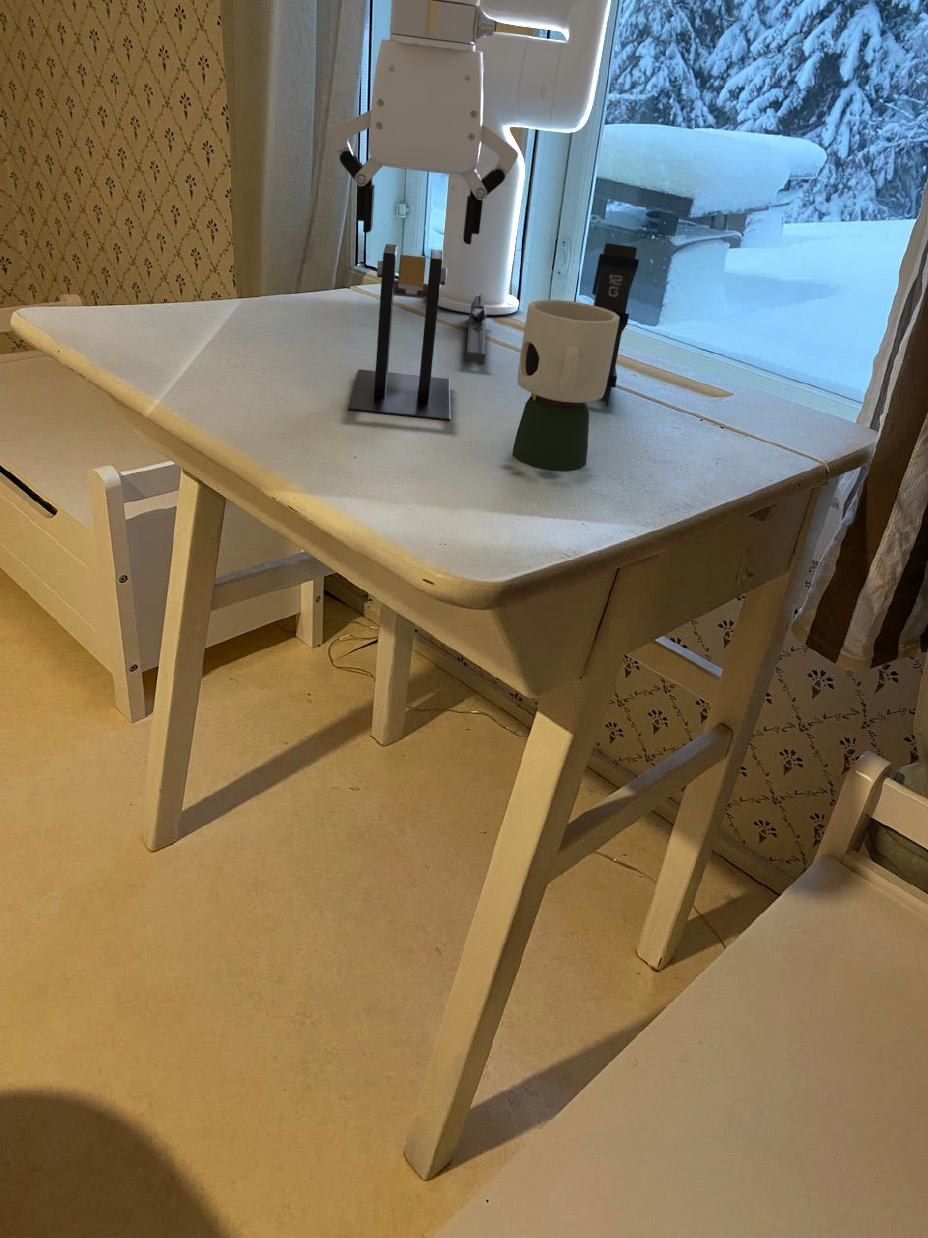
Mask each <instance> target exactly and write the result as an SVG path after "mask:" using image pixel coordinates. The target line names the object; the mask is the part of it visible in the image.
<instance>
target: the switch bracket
mask: <svg viewBox="0 0 928 1238" xmlns="http://www.w3.org/2000/svg"><path fill="white" fill-rule="evenodd" d="M442 250H443V249H441V250H440V249H433V248H431V249H430V259H429V269H428V270H429V271H428V279H427V284H428V289H427V299H425V300H426V302H425V314H424V324H423V333H422V334H423V335H422V344H421V345H422V346H421V357H420V367H419V375H416V374H407V373H399V372H389V363H390V351H391V336H392V322H393V308H394V298H395V296H394V283H395V280H396V268H397V254H398V245H397V244H390V243H386V244H385V247H384V249H383V253H382V260H378V261H377V265H376V267H377V268H376V278H377V279H381V281H380V297H379V312H378V314H379V315H378V328H377V343H376V357H375V370H370V369H363V368H362V369H361V368H360V369H358V371H357V374H356V378H355V381H354V386H353V389H352V392H351V397H350V400H349V404H348V407H347V411H348V412H355V413H366V414H367V413H368V414H375V415H385V416H393V417H394V416H395V417H405V418H414V419H423V420H432V421H442V422H451V385H450V383H451V382H450V378H445V377H434V376H432V370H433V360H434V348H435V341H436V340H435V339H436V338H435V337H436V329H437V328H436V327H437V320H438V319H437V318H438V310H439V309H438V307H439V306H438V299H439V289H440V285H445V283H446V273H447V269H446V268H442Z"/></svg>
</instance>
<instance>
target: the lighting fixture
mask: <svg viewBox="0 0 928 1238" xmlns="http://www.w3.org/2000/svg"><path fill="white" fill-rule="evenodd" d="M475 308H479V309H481V308H482V309H483V310H482V311H481V312H480V313H475V312H474V311H473V310H474V309H475ZM486 316H487V315H486V307H485V303H484V297H481V294H480V295H479V296H475V299H474V301H473V303H472V305H471V312H469V313H468V328H467V343H466V353H465V354H466V355H465V362H468V363H477V364H485V362H486V318H487V317H486Z"/></svg>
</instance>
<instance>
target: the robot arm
mask: <svg viewBox="0 0 928 1238" xmlns="http://www.w3.org/2000/svg"><path fill="white" fill-rule="evenodd" d="M390 6H391V7H390V23H389V24H390V26H389V39H385V38H382V39H381V40H380V41H381V42H380V45H379V49H378V54H377V58H376V59H377V60H376V65H375V72H374V80H373V87H372V88H373V89H372V96H371V105H370V110H367V111H365V112H364V113H362V114H359V115H357V116H354V117H352V118H350V119H347V120H345V121H344V122H341V123H339V124H336V125H334V126H333V127H332V128H330V130H329V136H330V139H331V141H332V144H333V146H334V148H335V151H336V153H337V155H338V158H339V161H340V164H341V165H342V166H343V167H344V169H345V171H347V172H348V174H349V175H350V176H351V177H352V179H353V180H354V182H355V183H356V185H357V204H356V205H357V206H356V221H357V222H363V223H362V224H363V225H362V232H363V233H366V234H369V233H370V232H372V229H373V224H374V208H375V207H374V206H375V188H376V185H375V184H374V183H373V178H374V176H376V174H377V173H378V172H380V170H381V169H382V167H386V168H387V167H388V168H393V169H402V170H410V171H418V172H419V171H420V172H426V173H434V174H435V173H436V174H445V175H449V177H448V178H449V179H448V188H447V189H448V190H447V201H446V211H445V220H444V228H443V229H444V231H443V239H442V249H441V250H442V268H446V269H447V273H446V283H445V285H440V293H439V300H438V307H440V308H443V309H446V310H450V311H455V312H459V313H466V314H469V312H471V305H472V303H473V301H474V299H475V296H479V295H480V294H481V297H484V303H485V307H486V316H497V315H498V316H501V315H502V316H503V315H509V314H513V313H516V311H518V310H519V304H520V303H519V300H518V299H517V297H515V296H513V295H511V294H510V285H511V279H512V278H511V276H512V269H513V263H514V262H513V261H514V255H515V248H516V241H517V233H518V227H519V217H520V211H521V203H522V202H521V201H522V195H523V188H524V183H525V172H526V170H525V169H526V168H525V161H524V160H525V159H524V157H523V154H522V152H521V150H520V148H519V146H518V144H517V143H516V141H515V138H514V137H513V135H512V133H511V131H510V128H512V127H515V128H526V129H535V130H540V131H541V130H542V131H548V132H549V131H550V132H556V133H557V132H558V133H574V132H577V131H579V130H581V129H582V128H583V127H584V126H585V124H586V123H587V121H588V119H589V116H590V113H591V110H592V107H593V103H594V99H595V93H596V88H597V83H598V77H599V70H600V69H599V68H600V65H601V58H602V54H603V53H602V52H603V49H604V48H603V47H604V41H605V36H606V31H607V23H608V18H609V13H610V8H611V0H391V5H390ZM480 10H481V12H480ZM483 14H484V15H483ZM495 21H496V22H499V23H501V24H508V25H514V26H520V27H527V28H534V29H540V30H541V29H542V30H550V31H557V32H561V33H562V34H563V35H564V37H565V40H559V39H551V38H543V37H534V36H531V35H524V34H516V33H510V32H509V33H508V32H501V31H500V32H499V31H494V30H495ZM368 129H369V130H368ZM366 130H368V131H369V132H368V151H369V156H370V157H369V158H368V159H367V160H366V161H365V162H364V164H362V162H361V161H360V159H359V158H358V157H357V156H356V155H355V153H354V152H353V150H352V147H351V145H350V142H349V141H350V140H349V139H350V138H351V137H353V136H354V135H357V134H359V133H361V132H364V131H366ZM482 310H483V309H482V308H481V309H479V308H475V309H474V310H473V311H474V312H475V313H480V312H481V311H482Z"/></svg>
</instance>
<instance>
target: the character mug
mask: <svg viewBox="0 0 928 1238" xmlns="http://www.w3.org/2000/svg"><path fill="white" fill-rule="evenodd" d="M619 318H620V317H619V316H618V315H617V314H616V313H614V312H612V311H609V310H607V309H604V308H601V307H597V306H594V305H593V304H589V303H583V302H578V301H572V300H561V299H539V300H534V301H531V302H529V303H528V305H527V311H526V317H525V324H524V332H523V336H522V337H523V338H522V343H521V344H522V345H521V349H520V355H519V365H518V370H517V371H518V372H517V384H518V386H519V387H521V389H523V390H525V391H528V392H529V393H530V396H529V398H528V399H527V401H526V402H525V404H524V408H523V411H522V414H521V417H520V421H519V424H518V428H517V431H516V435H515V440H514V442H513V447H512V450H513V452H512V457H514V458H515V459H516V460H517V461H519V462H520V463H522V464H524V465H527V466H529V467H531V468H534V469H539V470H542V471H543V470H544V471H548V472H562V473H563V472H566V473H567V472H574V471H578V470H581V469H582V468H584V466H586V465H587V457H588V450H589V449H588V448H589V429H590V427H589V426H590V412H589V408H588V405H587V403H591V402H592V403H593V402H596V401H600V400H599V399H602V397H603V395H604V393H605V389H606V386H607V380H608V375H609V370H610V365H611V360H612V355H613V350H614V345H615V340H616V335H617V330H618V325H619Z"/></svg>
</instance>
